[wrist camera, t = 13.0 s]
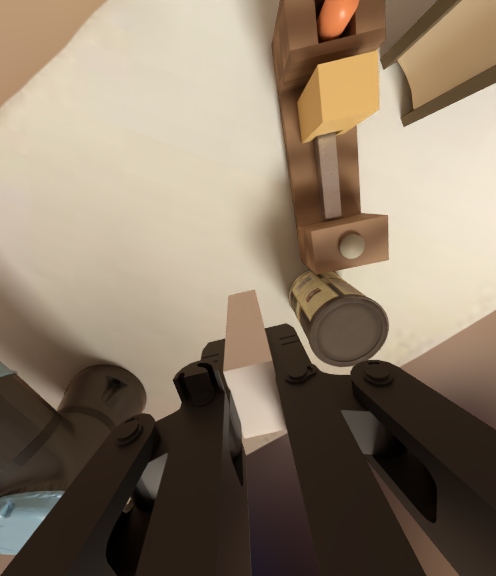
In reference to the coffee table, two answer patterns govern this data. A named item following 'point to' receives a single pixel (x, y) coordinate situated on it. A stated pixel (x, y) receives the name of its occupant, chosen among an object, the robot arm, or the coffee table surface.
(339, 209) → the bar
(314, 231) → the wooden base
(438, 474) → the robot arm
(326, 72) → the carriage
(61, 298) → the coffee table surface
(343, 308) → the coffee can
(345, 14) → the orange peg
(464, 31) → the book
